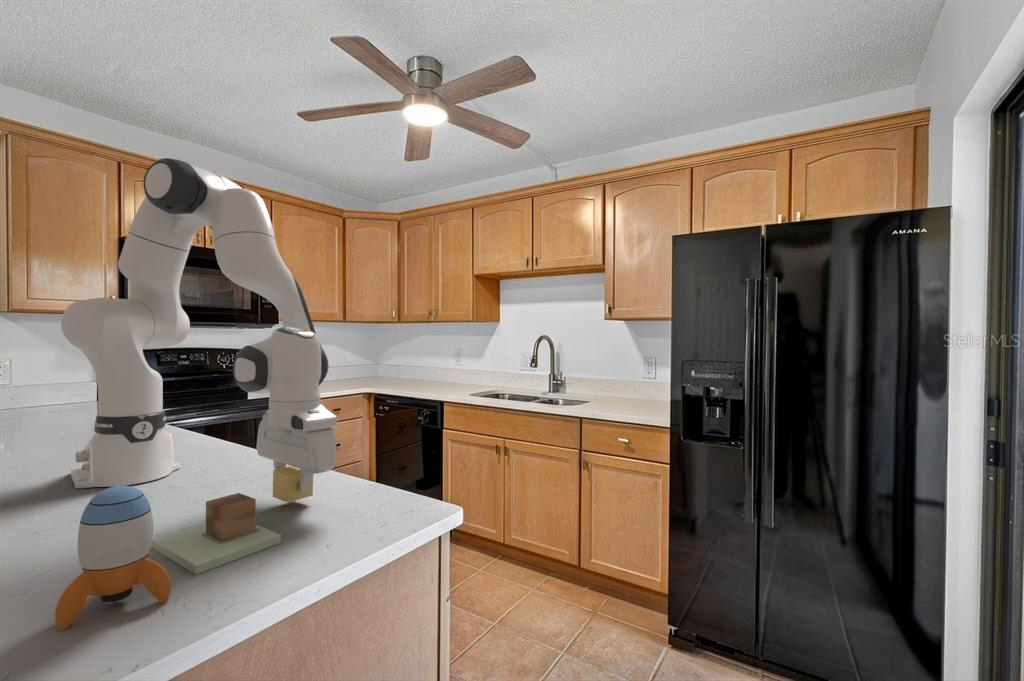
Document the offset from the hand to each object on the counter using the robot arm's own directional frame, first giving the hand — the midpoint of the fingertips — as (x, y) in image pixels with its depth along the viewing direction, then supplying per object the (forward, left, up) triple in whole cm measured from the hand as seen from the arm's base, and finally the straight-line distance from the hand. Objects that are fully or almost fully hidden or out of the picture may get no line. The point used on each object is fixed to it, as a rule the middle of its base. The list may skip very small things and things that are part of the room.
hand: (293, 487), depth 91 cm
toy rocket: (+14, -31, -4) cm, 34 cm away
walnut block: (+6, -14, -2) cm, 16 cm away
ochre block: (0, 0, -2) cm, 2 cm away
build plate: (+6, -17, -3) cm, 18 cm away
